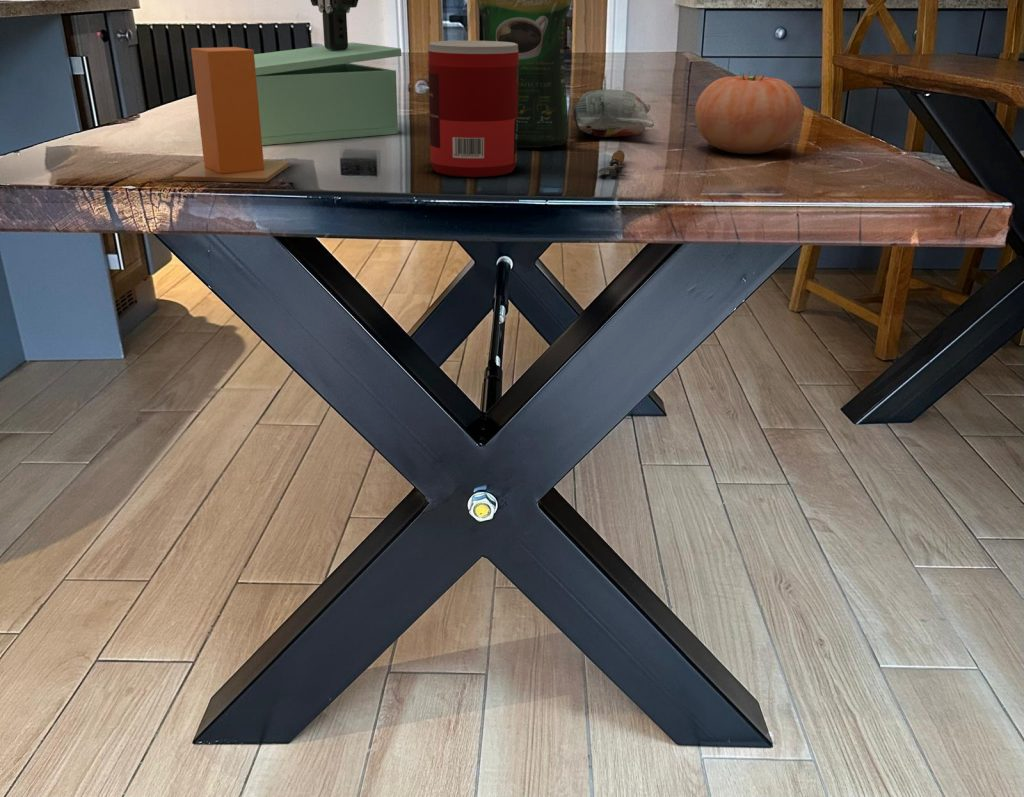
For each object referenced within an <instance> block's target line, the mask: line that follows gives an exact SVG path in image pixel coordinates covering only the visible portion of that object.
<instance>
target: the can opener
mask: <svg viewBox="0 0 1024 797" xmlns="http://www.w3.org/2000/svg"><path fill="white" fill-rule="evenodd" d="M625 158H626V157H625V153H624V151H623V150H621V149H618V150H616V151H614V152H613V154H612V156H611V160H610V162H609V166H607V167H606V166H605V167H602V168H600V169H599V170H598V173H599V174H601V175H605V174H606V173H607V171H608V172H609V177H616V176H617V171H618V170H620V168H621V169H625V168H627V166H626V165H624V164H623V163H624V161H625Z"/></svg>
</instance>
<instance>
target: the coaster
mask: <svg viewBox="0 0 1024 797" xmlns="http://www.w3.org/2000/svg"><path fill="white" fill-rule="evenodd" d="M263 161H264V170H255V171H245V172H235V173H225V174H220V173H218V172H215V171H213V170H211V169H209V168H206V167H205V166H204V159H203V160H201V161H200V162H198V163H195V164H193V165H192V166H190V167H188V168H186V169H184V170H182V171H180V172H178V173H176V174H175V175H173V177H172V178H173V181H175V182H179V181H180V182H220V183H221V182H222V183H224V182H225V183H268V182H270V181H271V180H272V179H274V178H275V177H276V176H278V175H279V174H281V173H282V172H283V171H285V170H286V169H288V168H289V167H290V161H275V160H274V161H271V160H263Z"/></svg>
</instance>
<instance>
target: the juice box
mask: <svg viewBox="0 0 1024 797" xmlns="http://www.w3.org/2000/svg"><path fill="white" fill-rule="evenodd" d="M190 52H191V59H192V60H191V61H192V70H193V77H194V88H195V95H196V104H197V113H198V122H199V130H200V138H201V147H202V148H201V150H202V157H203V160H204V166H205V167H206V168H209V169H211V170H213V171H215V172H218V173H220V174H225V173H235V172H245V171H255V170H264V161H265V160H264V151H263V145H262V138H261V127H260V116H259V105H258V93H257V82H256V71H255V60H254V54H255V50H254V49H250V48H246V47H245V48H244V47H239V46H238V47H237V46H230V47H229V46H225V47H222V46H221V47H192V48H191V49H190Z"/></svg>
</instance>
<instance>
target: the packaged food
mask: <svg viewBox="0 0 1024 797" xmlns="http://www.w3.org/2000/svg"><path fill="white" fill-rule="evenodd" d="M650 111H651V104H649V103H645V102H644V100H642V99H641V98H640V97H639V96H637V95H636V94H635V93H633V92H631V91H629V90H622V89H608V88H607V89H596V90H590V91H587V92H584V93H583V94H582V95H581V96H580V98H579V100H578V103H577V104H576V105H575V106H574V108H573V117H574V121H575V122H574V123H575V126H576V128H577V129H578V130H580V131H581V132H583V133H584V134H587V135H590V136H593V137H595V138H596V137H597V138H613V137H614V138H615V137H616V138H617V137H629V136H636V135H640V134H641V133H643V132H644V131H645V130H646V128H651V129H652V128H654V125H655V123H654V119H653V117H652V115H650V114H648V113H649V112H650Z"/></svg>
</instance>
